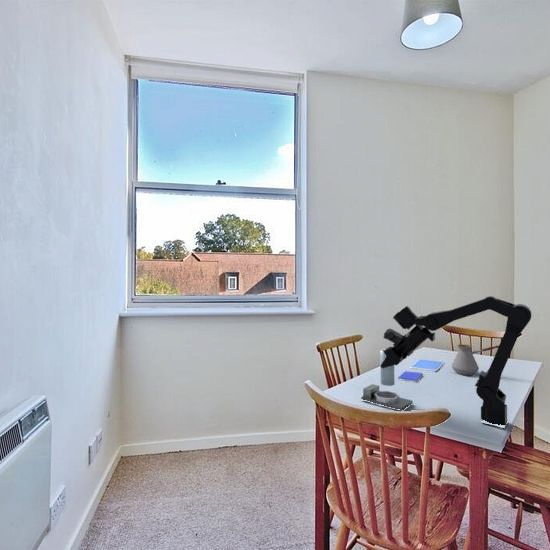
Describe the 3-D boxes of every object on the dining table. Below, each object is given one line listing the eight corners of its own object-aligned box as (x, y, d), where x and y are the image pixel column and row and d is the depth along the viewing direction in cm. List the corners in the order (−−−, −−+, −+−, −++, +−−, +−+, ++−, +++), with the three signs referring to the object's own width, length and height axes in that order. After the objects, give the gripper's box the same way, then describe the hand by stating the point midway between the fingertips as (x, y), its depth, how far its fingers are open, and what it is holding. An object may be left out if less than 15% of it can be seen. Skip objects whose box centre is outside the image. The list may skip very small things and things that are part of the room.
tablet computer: (419, 361, 196) (419, 358, 196) (444, 364, 188) (444, 361, 188) (409, 369, 180) (409, 366, 180) (436, 373, 173) (436, 370, 173)
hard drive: (404, 370, 173) (397, 377, 162) (422, 373, 168) (416, 380, 158) (404, 373, 173) (397, 380, 162) (422, 376, 168) (416, 383, 158)
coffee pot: (449, 373, 170) (448, 342, 169) (454, 368, 179) (453, 338, 179) (502, 381, 157) (502, 347, 157) (505, 375, 166) (504, 342, 166)
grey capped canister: (395, 382, 137) (395, 348, 136) (393, 386, 132) (392, 351, 132) (382, 380, 139) (381, 347, 139) (379, 384, 134) (379, 349, 134)
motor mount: (412, 404, 132) (412, 392, 132) (402, 411, 126) (402, 399, 126) (372, 394, 143) (372, 383, 143) (361, 400, 137) (361, 389, 137)
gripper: (404, 319, 141) (377, 344, 147) (389, 325, 125) (359, 353, 132) (426, 341, 136) (397, 366, 143) (413, 350, 121) (381, 378, 127)
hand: (383, 365), depth 136 cm, fingers closed on grey capped canister, 5 cm apart
